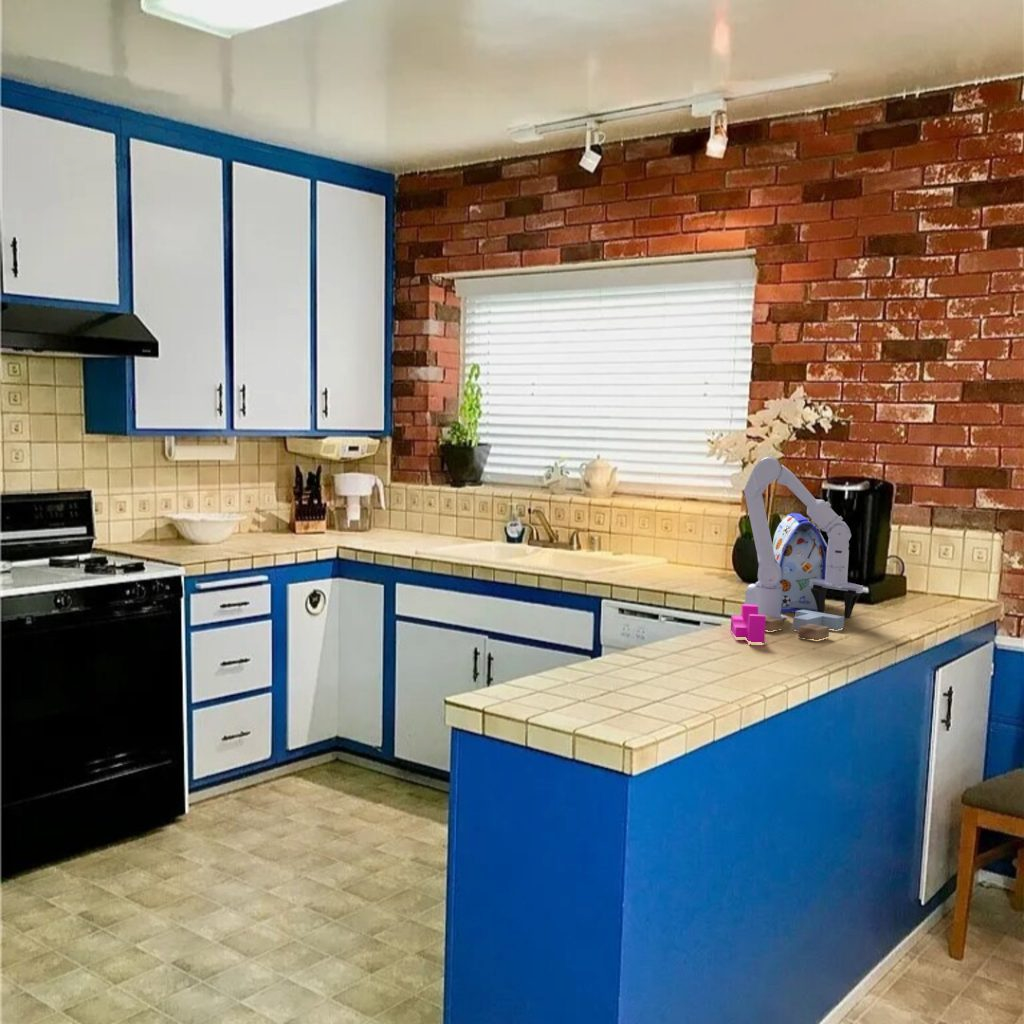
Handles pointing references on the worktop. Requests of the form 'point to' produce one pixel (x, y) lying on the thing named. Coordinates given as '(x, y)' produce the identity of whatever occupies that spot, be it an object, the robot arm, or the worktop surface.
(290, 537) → the worktop surface
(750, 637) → the toy block
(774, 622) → the walnut slot
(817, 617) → the T block
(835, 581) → the robot arm
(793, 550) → the lunch bag
